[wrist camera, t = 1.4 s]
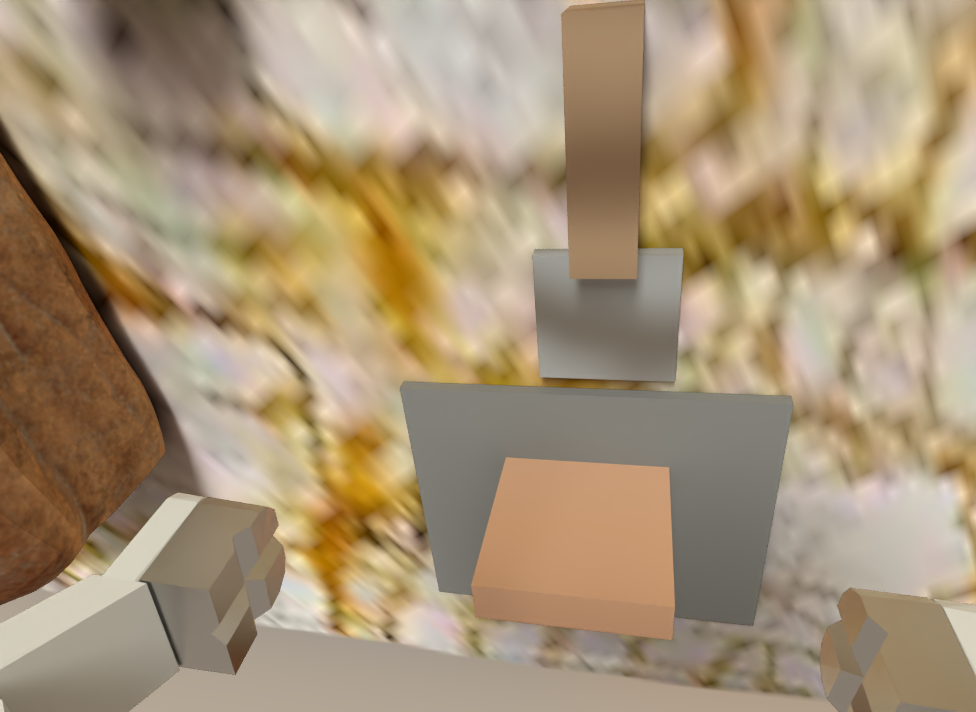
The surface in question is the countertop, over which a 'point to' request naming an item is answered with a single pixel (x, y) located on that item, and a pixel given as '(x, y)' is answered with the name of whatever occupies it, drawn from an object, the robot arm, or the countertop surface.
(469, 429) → the gray rectangular plate
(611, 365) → the turner
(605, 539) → the block
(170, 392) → the countertop surface
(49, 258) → the bread
